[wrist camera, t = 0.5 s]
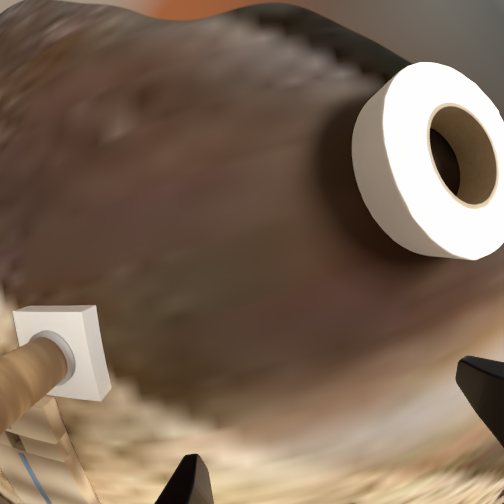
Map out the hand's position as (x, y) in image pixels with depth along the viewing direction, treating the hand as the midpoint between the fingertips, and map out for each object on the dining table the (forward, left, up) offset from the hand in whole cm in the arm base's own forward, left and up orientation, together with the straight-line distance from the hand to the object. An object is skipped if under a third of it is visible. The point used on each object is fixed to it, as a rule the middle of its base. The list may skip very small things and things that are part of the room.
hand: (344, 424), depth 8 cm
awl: (-2, +17, -14) cm, 22 cm away
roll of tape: (+11, -15, -15) cm, 24 cm away
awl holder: (-2, +17, -14) cm, 22 cm away
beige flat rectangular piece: (-17, +26, -14) cm, 34 cm away
